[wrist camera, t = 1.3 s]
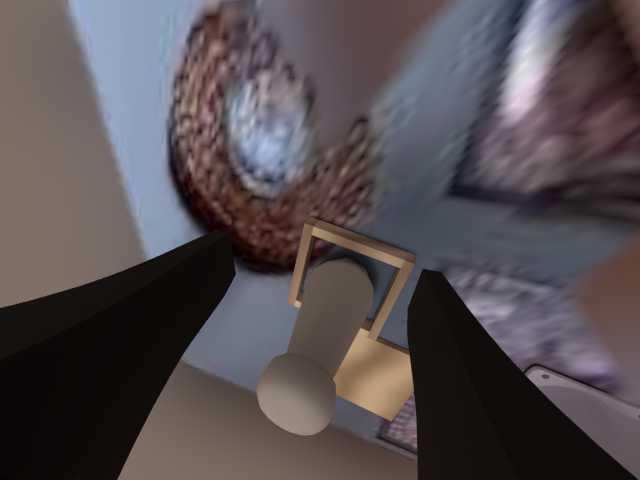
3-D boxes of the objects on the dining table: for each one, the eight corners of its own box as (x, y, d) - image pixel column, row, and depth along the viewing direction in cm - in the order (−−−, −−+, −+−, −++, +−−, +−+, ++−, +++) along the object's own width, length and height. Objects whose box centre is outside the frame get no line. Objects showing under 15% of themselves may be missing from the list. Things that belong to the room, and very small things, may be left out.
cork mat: (432, 360, 25) (432, 365, 25) (391, 415, 31) (391, 421, 30) (327, 315, 27) (325, 319, 26) (306, 375, 33) (304, 379, 32)
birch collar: (415, 254, 21) (414, 264, 20) (377, 329, 26) (375, 341, 24) (311, 216, 23) (304, 223, 21) (293, 293, 27) (287, 302, 26)
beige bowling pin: (340, 309, 26) (283, 455, 15) (305, 265, 25) (217, 388, 14) (390, 288, 23) (365, 451, 12) (353, 238, 22) (289, 366, 11)
